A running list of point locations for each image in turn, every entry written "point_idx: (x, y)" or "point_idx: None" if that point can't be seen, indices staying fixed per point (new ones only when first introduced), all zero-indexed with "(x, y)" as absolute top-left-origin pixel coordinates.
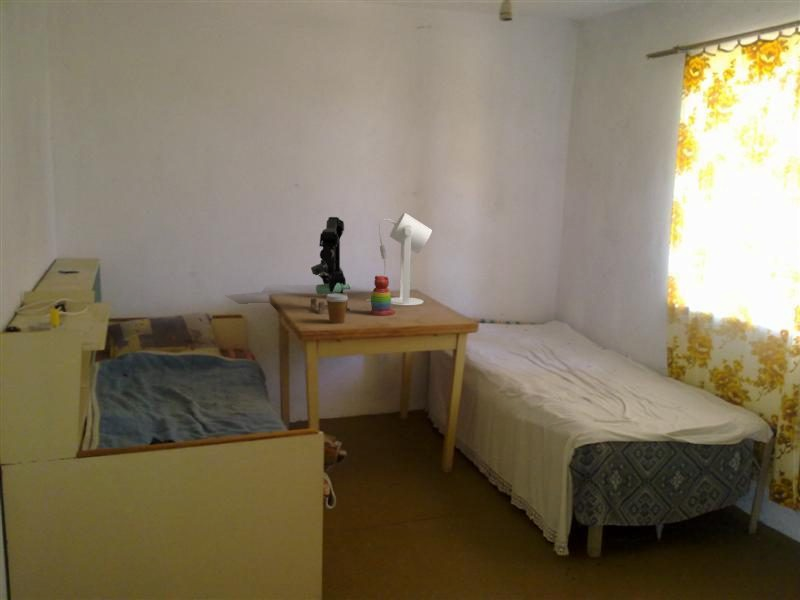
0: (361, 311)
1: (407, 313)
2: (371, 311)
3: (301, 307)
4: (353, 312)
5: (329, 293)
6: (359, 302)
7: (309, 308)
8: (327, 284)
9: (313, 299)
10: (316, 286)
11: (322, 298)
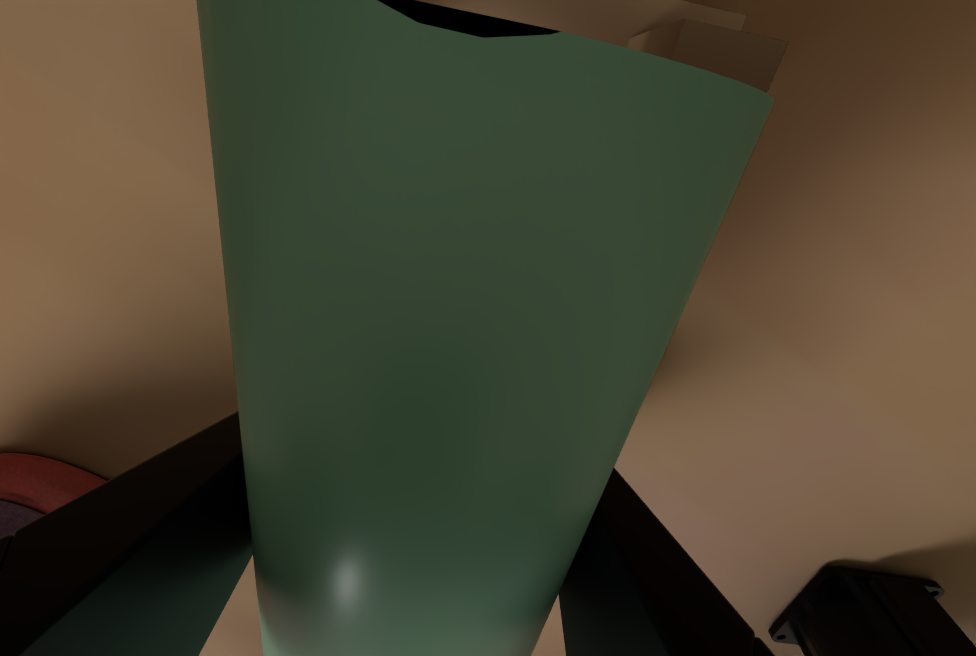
0: None
1: None
2: (47, 483)
3: (925, 9)
4: (201, 386)
5: (939, 621)
6: (562, 625)
7: (685, 5)
8: (329, 580)
9: (679, 54)
10: (744, 92)
11: (971, 535)
